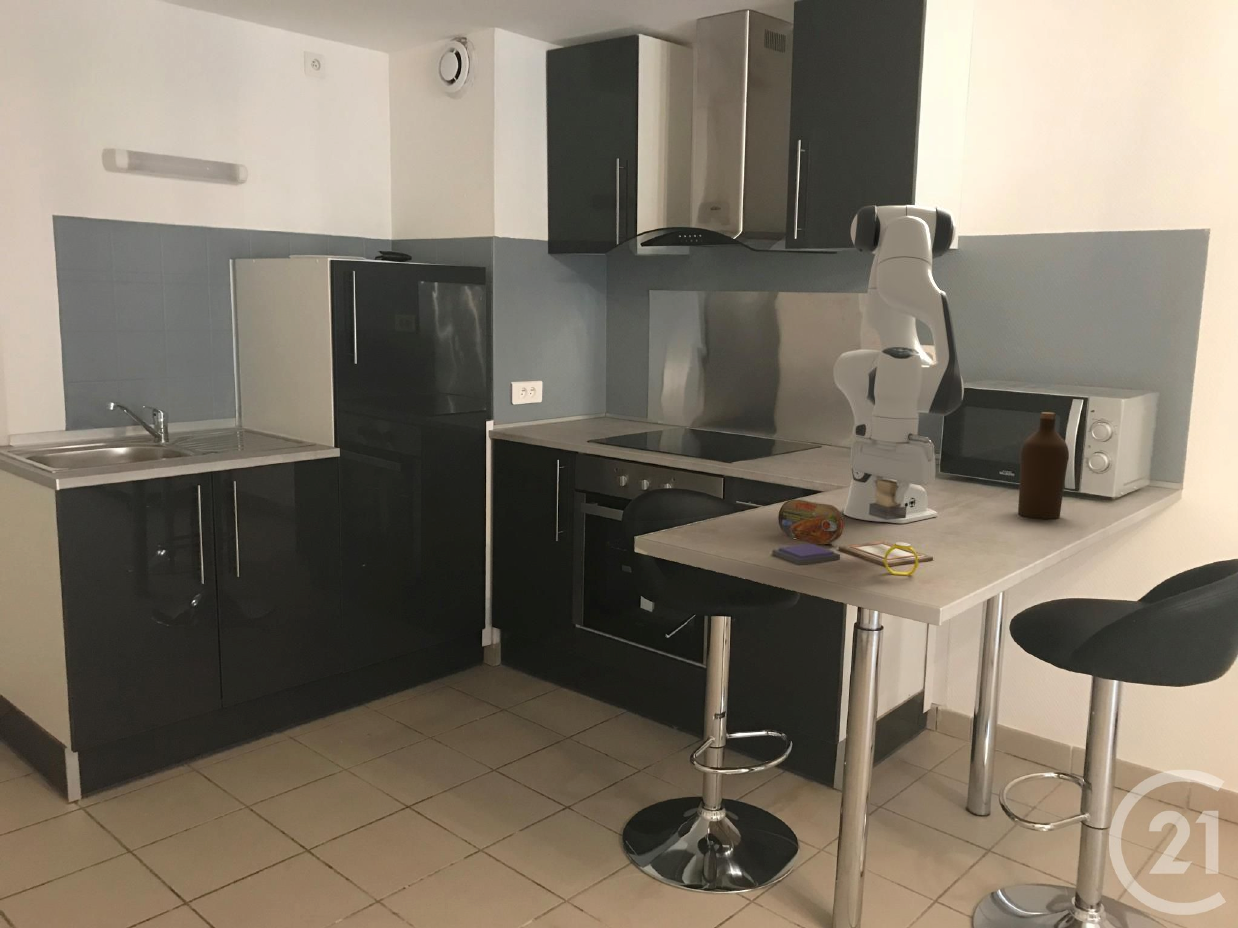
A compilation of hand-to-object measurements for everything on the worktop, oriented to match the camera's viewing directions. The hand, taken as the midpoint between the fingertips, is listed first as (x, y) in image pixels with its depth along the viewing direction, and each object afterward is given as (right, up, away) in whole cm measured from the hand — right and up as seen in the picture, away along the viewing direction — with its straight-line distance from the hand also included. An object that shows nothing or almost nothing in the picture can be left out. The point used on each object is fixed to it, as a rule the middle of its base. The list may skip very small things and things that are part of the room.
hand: (888, 500), depth 194 cm
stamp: (0, -3, 0) cm, 3 cm away
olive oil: (+49, -5, +44) cm, 66 cm away
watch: (-1, -14, -12) cm, 18 cm away
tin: (-13, -9, +13) cm, 21 cm away
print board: (0, -11, +2) cm, 11 cm away
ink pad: (-17, -11, -1) cm, 20 cm away
